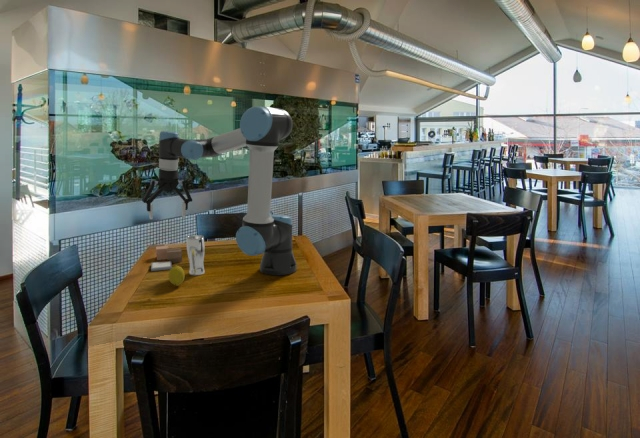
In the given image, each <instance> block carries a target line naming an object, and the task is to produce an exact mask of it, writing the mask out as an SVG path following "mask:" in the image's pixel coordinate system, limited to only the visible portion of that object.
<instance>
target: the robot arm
mask: <svg viewBox="0 0 640 438" xmlns="http://www.w3.org/2000/svg"><path fill="white" fill-rule="evenodd" d="M293 125H294V124H293V119H292V117H291V115H290V114H289V112H288V111H286V110H285V109H282V108H279V107H270V106H269V107H268V106H263V105H262V106H252V107H250V108H248V109H247V110H246V111H244V113H243V114H242V116H241V118H240V121H239V128H236V129H233V130H231V131H228V132H224V133H221V134H218V135H216V136H213V137H209V138H206V139H205V138H203V139H200V138H199V139H197V138H196V139H195V138H194V139H185V138H180V135H179V132H176V131H171V130H162V131H160V132H159V136H158V137H159V138H158V139H159V140H158V168H159V169H158V180H154V179H151V180H150V183H149V186H148V188H147V190H146V192H145V194H144V195H143V197H142V200H141V201H142V202H143V203H144V204H146V211H147V212H149V213H148V215H149V216H148V217H149V220H153V219H154V218H153V213H154V211H153V210H154V207H153V206H154V205H153V202H154V200H156V198H158V196H159V195H160V194H161V193H162V192H163V191H164V192H173V191H175V192H176V194H177V195H178V196H179V198H181V200H182V201H183V202H181V217H182V218H183V219H186V211H188V210H189V209H188V208H189V203H190V202H193V198H192V196H191V194H190V192H189V189H188V187H187V186H186V181H185V180H184V179H181V180H179V172H178V168H179V158H181V159H182V158H183V159H187V160H193V161H194V160H195V161H198V160H199V159H201V158H216V157H219V156H221V155H222V154H224V153H229V152H231V151H234V150H239V149H241V148H245V147H247V148H248V149H249V163H248V182H247V183H248V185H247V187H248V188H247V192H248V193H247V207H246V208H247V210H246V214H245V215H244V216H243V218H242V226H241V227H239V229H238V230H237V231H236V233H235V242H236V244H237V246H238V248H239V249H240V250H241V252H242V253H243V254H245V255H247V256H251V257H253V256H254V257H255V256H258V255H259V256H260V255H262V257H261V261H260V265H259V271H260V272H261V273H262V274H265V275H270V276H285V275H289V274H290V275H291V274H292V273H296V272H297V269H298V267H297V262H296V259H295V256H294V252H293V220H292V216H289V215H286V214H285V215H284V214H271V207H272V191H273V173H274V172H273V171H274V157H275V156H274V155H275V153H274V152H275V150H277V148H278V147H279V140H284V139H286V138H287V137H288V136H289V135H291V132H292V130H293ZM157 185H158V187H157V188H156V190H155V191H154V192H153V190H154V188H155V186H157ZM178 185H179V186H181V188H182V189H183V192H184V194H185V196H186V197H185V196H184V194H182V192H181V191H180V190H179V188H177V187H178ZM152 192H153V193H152Z"/></svg>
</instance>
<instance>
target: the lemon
mask: <svg viewBox="0 0 640 438" xmlns="http://www.w3.org/2000/svg"><path fill="white" fill-rule="evenodd" d="M185 277H186V275H185V270H184V269H183V268H182V266H179V265H174V266H172V268H171V269H169V271H168V279H169V282H170V283H171V284H172V285H174V286H175V287H178V286H179V285H181V284H182V283H184V281H185Z"/></svg>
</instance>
